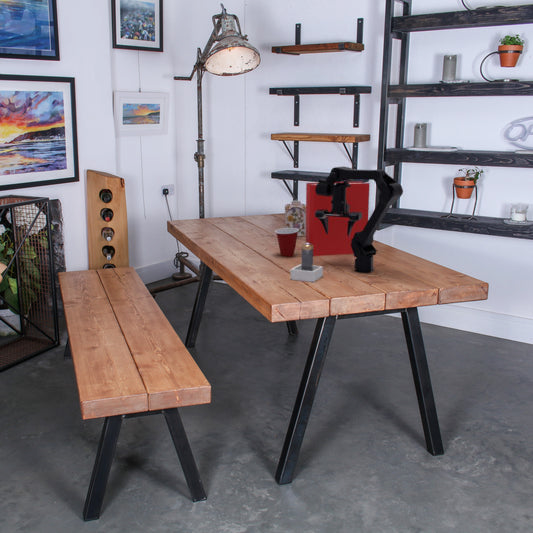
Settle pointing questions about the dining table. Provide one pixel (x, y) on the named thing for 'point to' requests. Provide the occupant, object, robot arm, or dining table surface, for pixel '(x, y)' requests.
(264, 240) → the dining table surface
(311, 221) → the book
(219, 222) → the dining table surface
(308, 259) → the battery cell
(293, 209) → the decorative jar
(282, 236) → the plastic cup
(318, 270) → the bin
